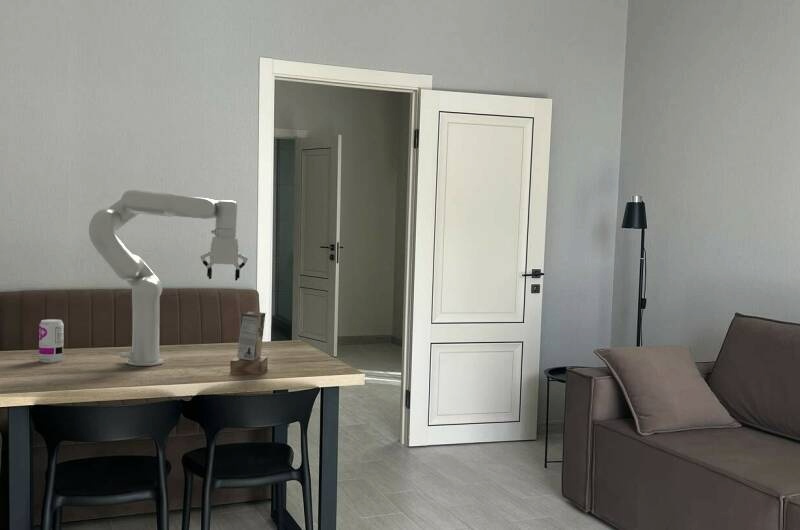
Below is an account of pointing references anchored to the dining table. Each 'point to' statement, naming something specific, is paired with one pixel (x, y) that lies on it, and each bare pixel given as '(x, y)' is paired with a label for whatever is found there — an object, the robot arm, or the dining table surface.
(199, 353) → the dining table surface
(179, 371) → the dining table surface
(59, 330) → the supplement can
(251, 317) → the coffee box
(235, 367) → the walnut block
